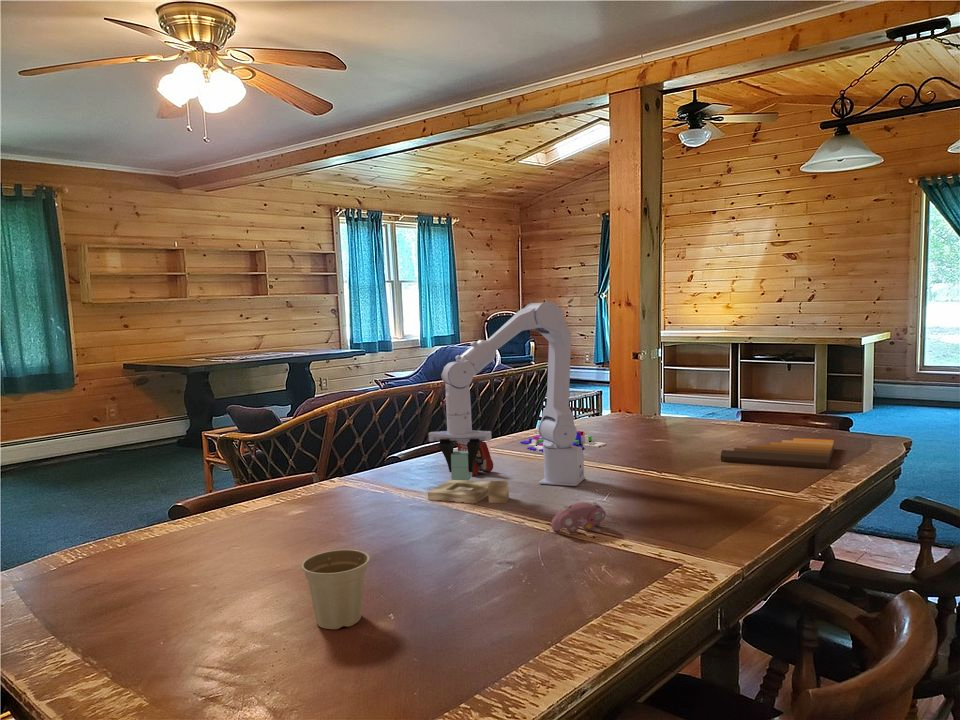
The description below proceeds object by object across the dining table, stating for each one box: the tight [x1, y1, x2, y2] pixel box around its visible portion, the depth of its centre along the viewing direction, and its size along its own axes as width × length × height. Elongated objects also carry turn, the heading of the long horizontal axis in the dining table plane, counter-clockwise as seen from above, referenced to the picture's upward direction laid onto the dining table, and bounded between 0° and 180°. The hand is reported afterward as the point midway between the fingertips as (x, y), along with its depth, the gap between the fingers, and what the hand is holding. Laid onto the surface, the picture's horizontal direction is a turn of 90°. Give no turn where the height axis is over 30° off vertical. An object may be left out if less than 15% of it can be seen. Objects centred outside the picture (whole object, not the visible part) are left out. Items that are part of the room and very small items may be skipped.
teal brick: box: [450, 450, 473, 481], centre depth 159 cm, size 4×4×6 cm
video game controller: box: [550, 501, 607, 534], centre depth 129 cm, size 10×5×7 cm, turn 106°
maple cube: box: [487, 480, 510, 504], centre depth 153 cm, size 4×4×4 cm
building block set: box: [519, 430, 607, 453], centre depth 211 cm, size 25×20×4 cm
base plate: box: [427, 478, 490, 504], centre depth 159 cm, size 12×12×2 cm
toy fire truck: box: [456, 437, 494, 477], centre depth 181 cm, size 7×12×10 cm, turn 40°
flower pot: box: [301, 549, 371, 630], centre depth 96 cm, size 9×9×9 cm
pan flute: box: [720, 437, 835, 470], centre depth 183 cm, size 25×3×25 cm
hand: (461, 471), depth 159 cm, fingers closed on teal brick, 4 cm apart
